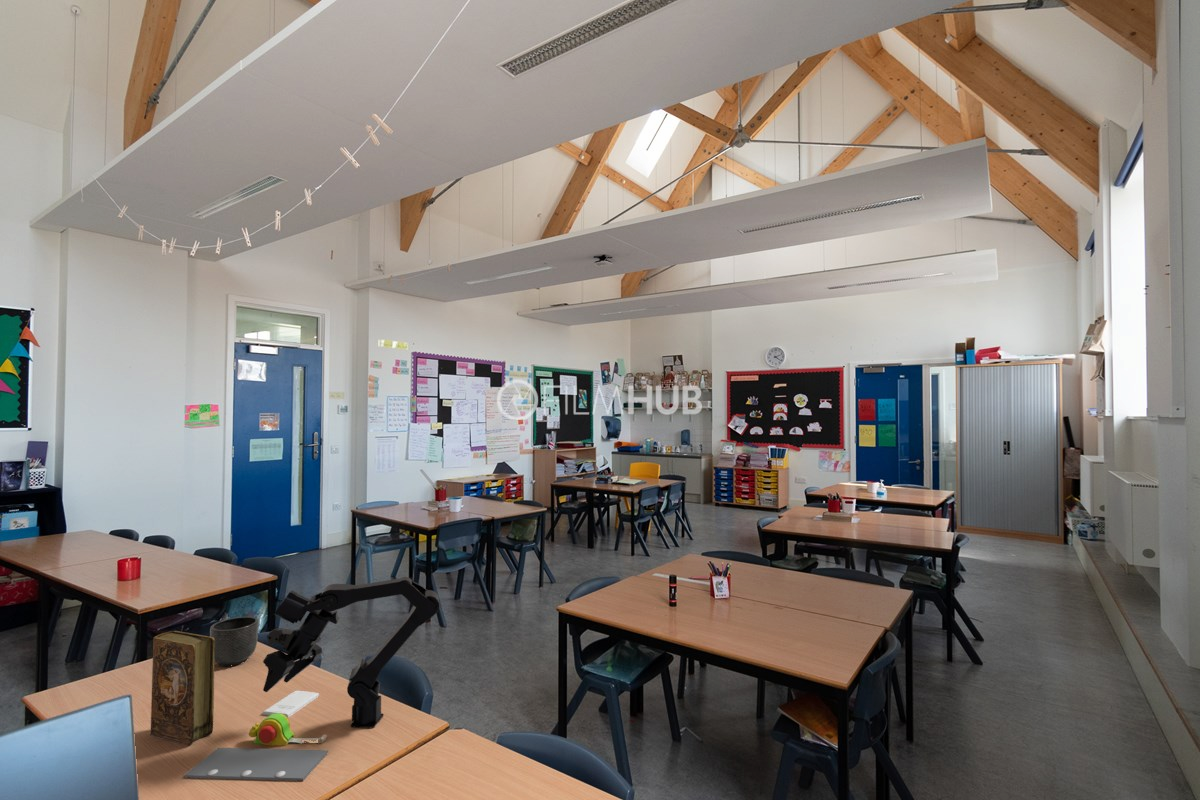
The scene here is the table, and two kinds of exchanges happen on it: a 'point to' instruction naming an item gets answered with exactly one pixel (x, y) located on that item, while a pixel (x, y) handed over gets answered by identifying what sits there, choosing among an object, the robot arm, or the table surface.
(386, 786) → the table surface
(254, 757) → the marked mat
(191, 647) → the book
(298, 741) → the toy measuring tape
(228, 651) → the planter
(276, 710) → the external hard drive
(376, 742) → the table surface
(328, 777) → the table surface
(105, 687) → the table surface
